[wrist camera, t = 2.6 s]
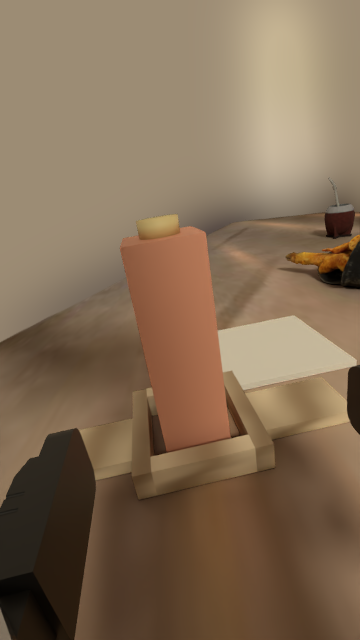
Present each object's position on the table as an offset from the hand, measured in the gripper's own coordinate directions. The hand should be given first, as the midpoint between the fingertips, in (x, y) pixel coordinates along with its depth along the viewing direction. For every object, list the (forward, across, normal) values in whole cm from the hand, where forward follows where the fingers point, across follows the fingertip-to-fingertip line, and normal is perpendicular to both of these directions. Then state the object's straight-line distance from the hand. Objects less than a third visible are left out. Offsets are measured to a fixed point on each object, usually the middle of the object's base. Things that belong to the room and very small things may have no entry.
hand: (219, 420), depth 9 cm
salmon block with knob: (+12, 0, +11) cm, 16 cm away
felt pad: (+22, -10, +10) cm, 26 cm away
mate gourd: (+72, -51, +10) cm, 89 cm away
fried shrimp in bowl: (+38, -29, +11) cm, 49 cm away
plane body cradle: (+12, 0, +11) cm, 16 cm away
